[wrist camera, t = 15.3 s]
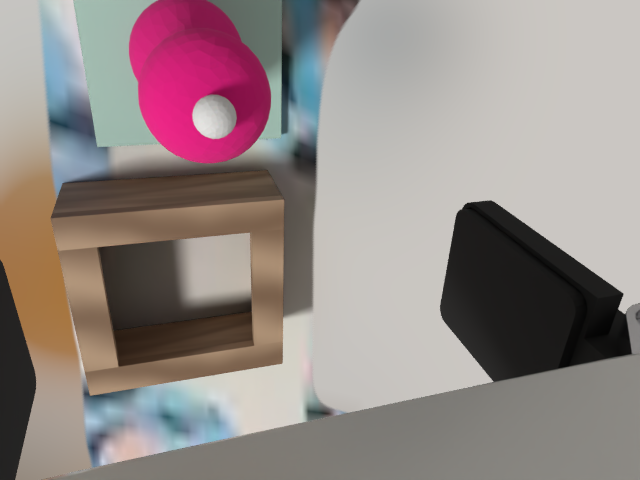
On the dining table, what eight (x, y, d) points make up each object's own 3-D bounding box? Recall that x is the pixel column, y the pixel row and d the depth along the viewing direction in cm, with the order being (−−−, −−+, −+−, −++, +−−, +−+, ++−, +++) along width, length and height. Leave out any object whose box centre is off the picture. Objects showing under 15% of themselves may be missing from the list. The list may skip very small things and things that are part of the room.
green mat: (63, -71, 33) (61, -72, 32) (279, -59, 37) (282, -59, 36) (98, 143, 40) (97, 147, 39) (278, 135, 43) (281, 138, 43)
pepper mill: (171, -35, 35) (198, -22, 18) (254, 40, 39) (339, 108, 22) (108, 51, 36) (79, 138, 20) (194, 116, 40) (231, 235, 23)
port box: (62, 183, 40) (50, 218, 35) (267, 170, 45) (284, 199, 39) (95, 346, 48) (90, 395, 43) (268, 321, 52) (282, 363, 47)
